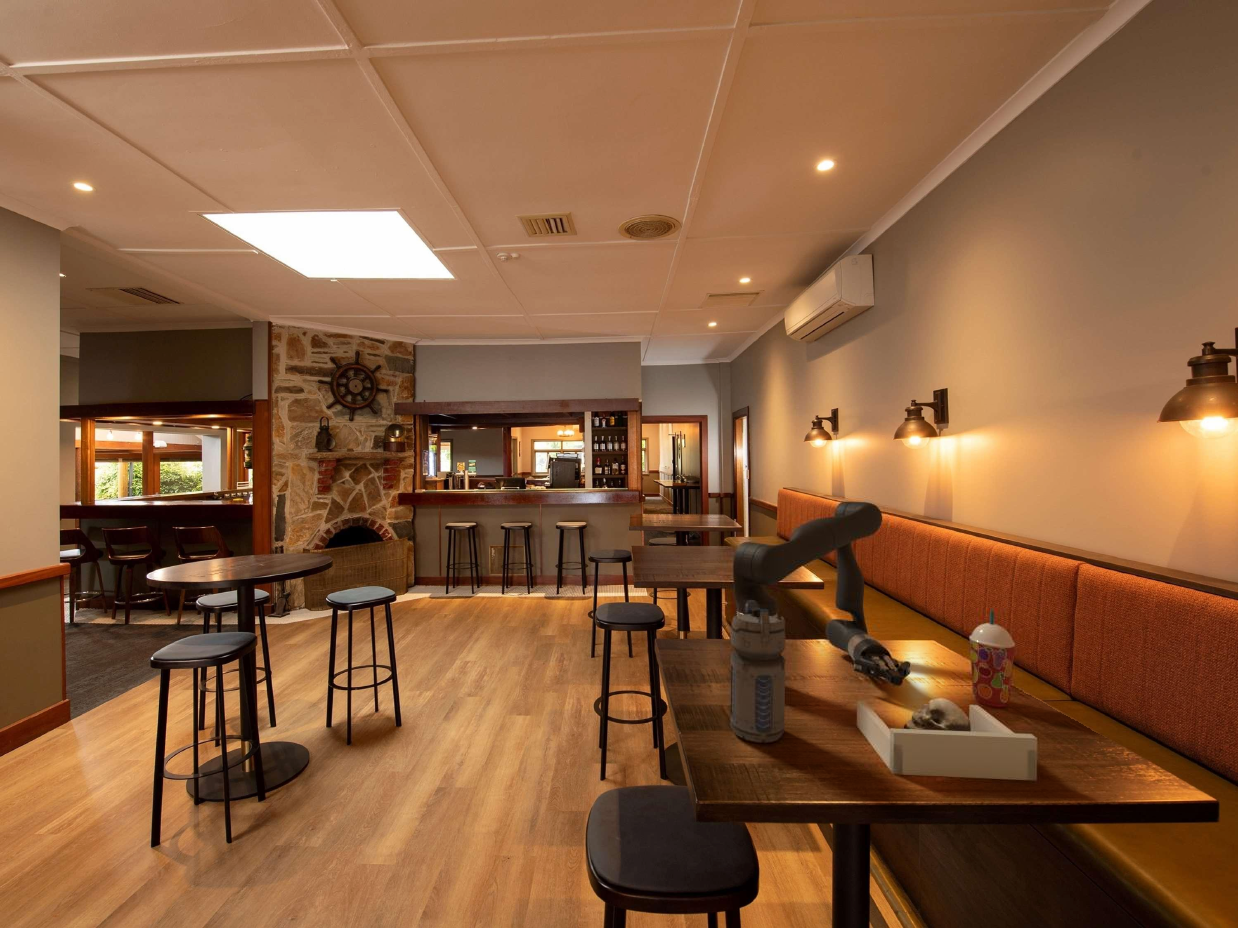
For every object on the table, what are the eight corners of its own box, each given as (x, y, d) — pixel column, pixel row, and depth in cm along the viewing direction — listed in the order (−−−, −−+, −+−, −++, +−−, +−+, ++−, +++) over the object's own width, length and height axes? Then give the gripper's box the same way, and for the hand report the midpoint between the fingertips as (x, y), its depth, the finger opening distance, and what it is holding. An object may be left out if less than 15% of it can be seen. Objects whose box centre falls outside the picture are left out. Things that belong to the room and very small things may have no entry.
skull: (892, 734, 107) (904, 684, 112) (907, 756, 112) (918, 707, 117) (964, 755, 99) (973, 700, 104) (976, 779, 104) (985, 725, 109)
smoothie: (1000, 695, 128) (1001, 607, 128) (1022, 711, 120) (1024, 617, 120) (961, 693, 129) (962, 605, 129) (981, 709, 120) (982, 615, 120)
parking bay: (893, 773, 95) (893, 732, 95) (856, 725, 113) (857, 690, 113) (1036, 780, 94) (1037, 738, 93) (977, 730, 111) (977, 694, 111)
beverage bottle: (772, 715, 117) (773, 594, 116) (792, 748, 103) (794, 611, 103) (723, 715, 117) (724, 594, 116) (737, 747, 103) (738, 611, 103)
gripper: (840, 637, 138) (866, 662, 121) (896, 639, 137) (930, 664, 120) (840, 668, 138) (865, 697, 121) (896, 670, 137) (930, 700, 120)
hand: (897, 681), depth 120 cm, fingers closed
